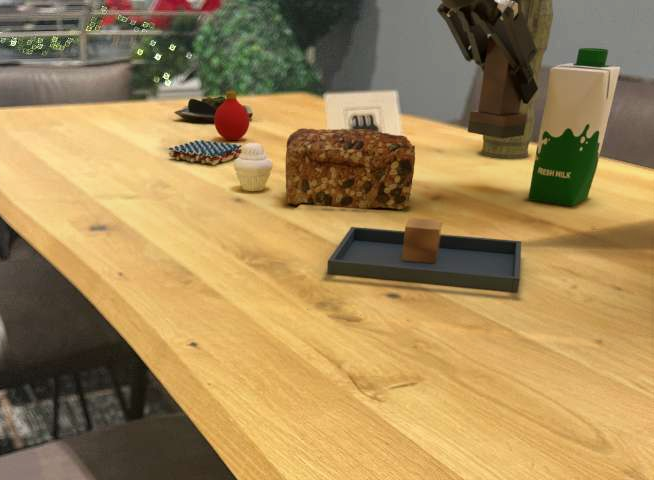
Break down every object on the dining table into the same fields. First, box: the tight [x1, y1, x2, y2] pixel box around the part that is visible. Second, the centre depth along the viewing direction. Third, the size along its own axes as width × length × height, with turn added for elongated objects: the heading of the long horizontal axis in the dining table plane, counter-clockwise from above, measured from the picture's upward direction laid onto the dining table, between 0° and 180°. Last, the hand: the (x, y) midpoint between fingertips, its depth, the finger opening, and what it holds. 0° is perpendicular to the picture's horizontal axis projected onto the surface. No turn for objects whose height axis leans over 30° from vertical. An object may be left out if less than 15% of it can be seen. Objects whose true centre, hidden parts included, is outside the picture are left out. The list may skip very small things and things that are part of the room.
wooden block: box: [402, 217, 444, 264], centre depth 91 cm, size 4×4×4 cm
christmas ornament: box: [213, 84, 250, 141], centre depth 153 cm, size 7×7×10 cm
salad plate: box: [173, 95, 254, 125], centre depth 177 cm, size 19×18×5 cm
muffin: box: [233, 141, 273, 192], centre depth 120 cm, size 6×6×7 cm
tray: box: [326, 226, 522, 294], centre depth 91 cm, size 21×14×2 cm
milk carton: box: [527, 47, 621, 207], centre depth 113 cm, size 9×9×20 cm
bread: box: [285, 127, 416, 210], centre depth 114 cm, size 19×11×10 cm, turn 84°
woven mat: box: [168, 139, 243, 166], centre depth 140 cm, size 10×11×2 cm
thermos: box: [480, 0, 554, 160], centre depth 136 cm, size 9×12×35 cm
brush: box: [467, 35, 527, 139], centre depth 115 cm, size 7×5×13 cm
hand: (517, 94), depth 117 cm, fingers closed on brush, 4 cm apart
